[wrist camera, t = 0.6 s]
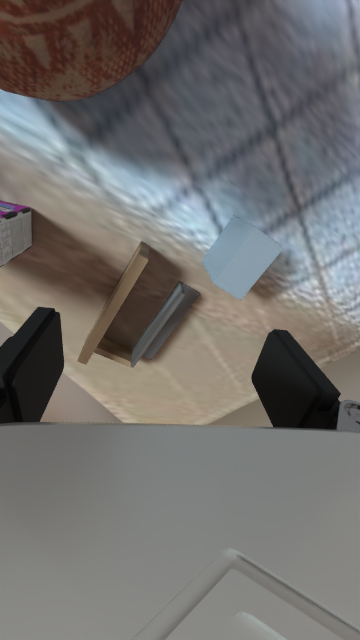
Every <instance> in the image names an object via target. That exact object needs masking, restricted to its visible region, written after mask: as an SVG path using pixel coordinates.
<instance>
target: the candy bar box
mask: <svg viewBox="0 0 360 640" xmlns="http://www.w3.org/2000/svg"><path fill="white" fill-rule="evenodd" d="M31 224H32V220H31V208H30V207H26V206H21V205H17V204H12V203H8V202H4V201H0V267H1V266H3V265H5V264H6V263H8V262H9V261H10V260H12V259H14V258H15V257H17V256H18V255H20V254H21V253H23V252H24V251H26V250H27V249H29V248H30V247H32V229H31V227H32V226H31Z"/></svg>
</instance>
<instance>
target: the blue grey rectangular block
mask: <svg viewBox="0 0 360 640" xmlns="http://www.w3.org/2000/svg"><path fill="white" fill-rule="evenodd" d="M283 249H284V248H282V247H281V246H280V245H279V244H277V243H276V242H275V241H273V240H272V239H271V238H270V237H268V236H267V235H266V234H264V233H263V232H262V231H261V230H259V229H258V228H257V227H255V226H253V225H252V224H250V223H248V222H246V221H244V220H242V219H240V218H239V217H237V216H235V215H233V217H232V218H231V220H230V221H229V222H228V224H227V225H226V227H225V228H224V230H223V231H222V232H221V234H220V235H219V237H218V238H217V240H216V241H215V242H214V244H213V245H212V247H211V248H210V250H209V251H208V253H207V254H206V255H205V257H204V258H203V260H202V263H203V265H204V267H205V269H206V271H207V272H208V274H209V276H210V278H211V280H212V282H213V283H214V284H215V285H217V286H218V287H220V288H222V289H223V290H225V291H226V292H228V293H230V294H231V295H233V296H235V297H236V298H238V299H239V300H241V299H242V298H243V297H244V295H245V294H246V293H247V292H248V291H249V289H250V288H251V287H252V286H253V285H254V283H255V282H256V281H257V280H258V279H259V277H260V276H261V275H262V274H263V273H264V271H265V270H266V269H267V268H268V267H269V265H270V264H271V263H272V262H273V261H274V259H275V258H276V257H277V256H278V255H279V253H280V252H281V251H282V250H283Z"/></svg>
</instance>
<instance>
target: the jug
mask: <svg viewBox="0 0 360 640" xmlns="http://www.w3.org/2000/svg"><path fill="white" fill-rule="evenodd" d="M181 3H182V0H0V89H2V90H4V91H7V92H11V93H15V94H19V95H23V96H27V97H33V98H39V99H44V100H50V101H73V100H80V99H84V98H88V97H91V96H93V95H95V94H97V93H100V92H102V91H104V90H106V89H108V88H110V87H112V86H114V85H115V84H117V83H119V82H121V81H122V80H123V79H125V78H126V77H127V76H129V75H130V74H131V73H133V72H134V71H135V70H137V69H138V68H139V67H140V66H142V65H143V64H144V62H145V61H146V60H147V59H148V58H149V57H150V56H151V55H152V54H153V52H154V51H155V50H156V48H157V47H158V45H159V44H160V43H161V41H162V40H163V38H164V37H165V35H166V33H167V31H168V30H169V28H170V26H171V24H172V23H173V21H174V19H175V16H176V14H177V12H178V10H179V7H180V5H181Z"/></svg>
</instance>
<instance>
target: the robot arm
mask: <svg viewBox="0 0 360 640" xmlns="http://www.w3.org/2000/svg"><path fill="white" fill-rule="evenodd" d="M63 368H64V356H63V344H62V332H61V320H60V313H59V312H55V309H54V308H46V307H38V308H37V309H36V310H35V311H34V312H33V313H32V315H31V316H30V317H29V318H28V319H27V320H26V322H25V323H24V324H23V325H22V326H21V327H20V329H19V330H18V331H17V332H16V333H15V334H14V336H12V337H9V338H8V339H7V340H6V341H5V342H4V343H3V345H2V346H1V347H0V640H360V403H358V402H356V401H352V400H344V401H342V402H341V403H340V401H339V400H338V398H339V396H340V394H341V393H340V392H339V391H338V390H337V389H336V388H335V386H334V385H333V384H332V383H331V381H330V380H329V379H328V378H327V377H326V376H325V374H324V373H323V372H322V371H321V370H320V368H319V367H318V366H317V365H316V364H315V363H314V361H313V360H312V359H311V358H310V357H309V356H308V354H307V353H306V352H305V351H304V350H303V348H302V347H301V346H300V345H299V344H298V343H297V341H296V340H295V339H294V338H293V337H292V335H291V334H290V333H289V332H288V331H287V330H277V329H274V330H273V331H272V332H270V333H269V334H268V336H267V338H266V341H265V343H264V346H263V348H262V351H261V353H260V356H259V358H258V361H257V363H256V366H255V368H254V371H253V373H252V383H253V385H254V387H255V389H256V391H257V393H258V395H259V398H260V400H261V402H262V404H263V406H264V408H265V410H266V412H267V414H268V417H269V419H270V420H271V423H272V425H273V427H253V426H221V425H186V424H145V423H97V422H40V419H41V417H42V415H43V413H44V411H45V409H46V407H47V404H48V402H49V400H50V398H51V396H52V393H53V391H54V389H55V387H56V385H57V382H58V380H59V378H60V376H61V374H62V371H63Z"/></svg>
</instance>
